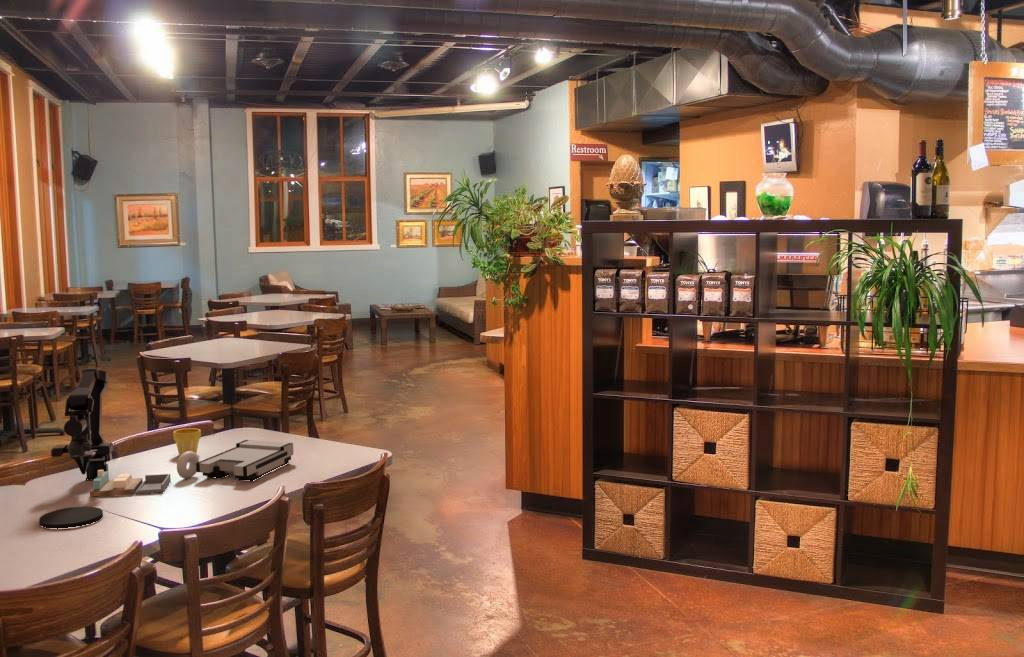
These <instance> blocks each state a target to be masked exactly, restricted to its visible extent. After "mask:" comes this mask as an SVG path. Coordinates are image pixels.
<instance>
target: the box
mask: <svg viewBox="0 0 1024 657" xmlns="http://www.w3.org/2000/svg"><path fill="white" fill-rule="evenodd" d="M144 477H145V480H143V483H142V484H141V485H140V487H139V488H138V489H137V490H136V492H135V494H134V495H152V494H151V493H158V494H164V493H165V492H166V490H167V488H168V487H169V485H170V484H171V483H172V481H171V480H172V479H171V473H166V474H165V473H161V474H145V475H144ZM169 483H170V484H169ZM167 486H168V487H167ZM165 489H166V490H165ZM163 492H164V493H163Z"/></svg>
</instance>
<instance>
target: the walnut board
mask: <svg viewBox="0 0 1024 657" xmlns="http://www.w3.org/2000/svg"><path fill="white" fill-rule="evenodd" d="M114 480H115V479H109V480H108V481H107V482H106V483H105V484H104V485H103V486H102V488H101V489H95V490H94V487H93V488H91V490H89V498H94V497H93V496H103V497H117V496H118V495H121V496H134V495H135V492H136V490H137V489H138V488H139V487H140V485H141V484H142V483H143V481H144V480H143V477H138V478H136V477H135V478H132V481H131V482H130V483H129V485H128V486H127V487H126V488H114V487H113V481H114ZM115 495H117V496H115Z"/></svg>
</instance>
